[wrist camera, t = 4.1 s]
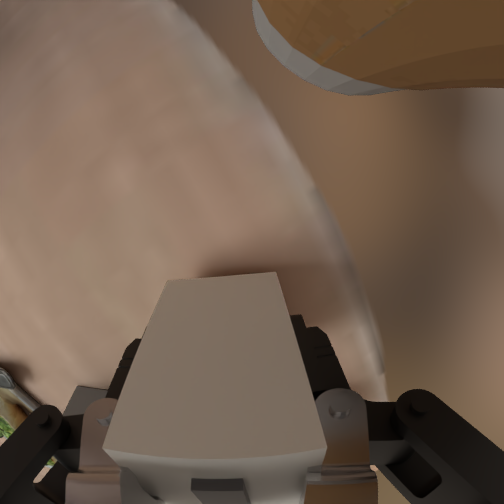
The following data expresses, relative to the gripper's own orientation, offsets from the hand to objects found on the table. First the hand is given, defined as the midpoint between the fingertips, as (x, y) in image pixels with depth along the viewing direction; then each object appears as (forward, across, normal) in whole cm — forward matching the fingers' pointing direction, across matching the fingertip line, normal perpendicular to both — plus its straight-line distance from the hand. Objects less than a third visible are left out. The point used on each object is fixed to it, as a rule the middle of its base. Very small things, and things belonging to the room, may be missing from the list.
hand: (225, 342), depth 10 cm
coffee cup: (+2, -5, -11) cm, 13 cm away
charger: (+1, 0, 0) cm, 1 cm away
